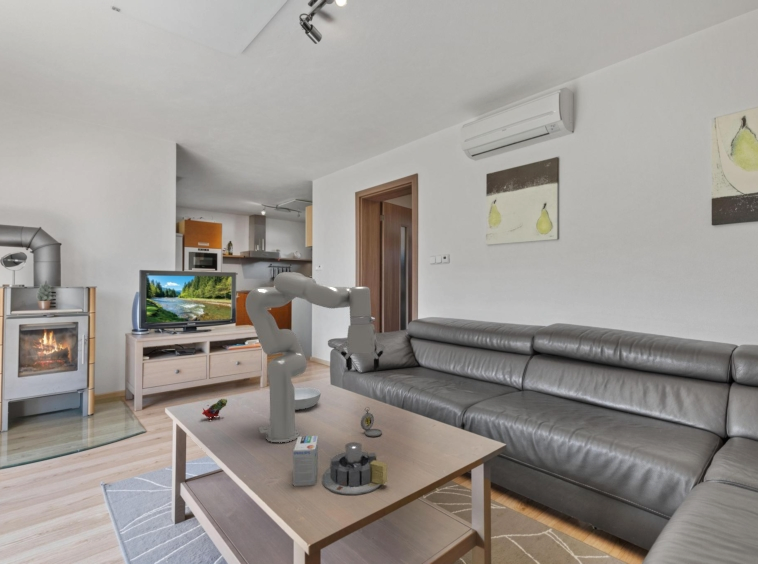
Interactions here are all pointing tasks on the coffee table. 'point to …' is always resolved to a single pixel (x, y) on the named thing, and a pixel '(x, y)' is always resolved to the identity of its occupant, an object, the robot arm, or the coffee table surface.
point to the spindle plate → (347, 488)
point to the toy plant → (215, 408)
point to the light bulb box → (305, 461)
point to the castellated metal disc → (358, 470)
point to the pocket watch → (369, 425)
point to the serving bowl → (306, 397)
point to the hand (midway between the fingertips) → (362, 369)
